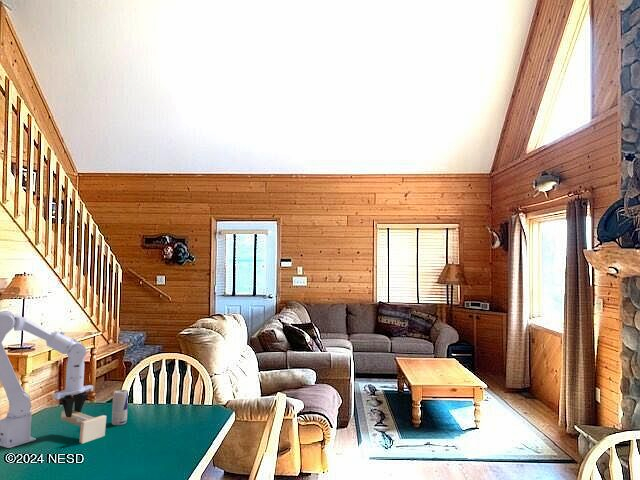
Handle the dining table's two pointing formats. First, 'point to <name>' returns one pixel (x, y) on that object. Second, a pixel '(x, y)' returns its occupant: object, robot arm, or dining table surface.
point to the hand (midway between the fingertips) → (73, 415)
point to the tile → (92, 429)
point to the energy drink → (119, 407)
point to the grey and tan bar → (75, 417)
